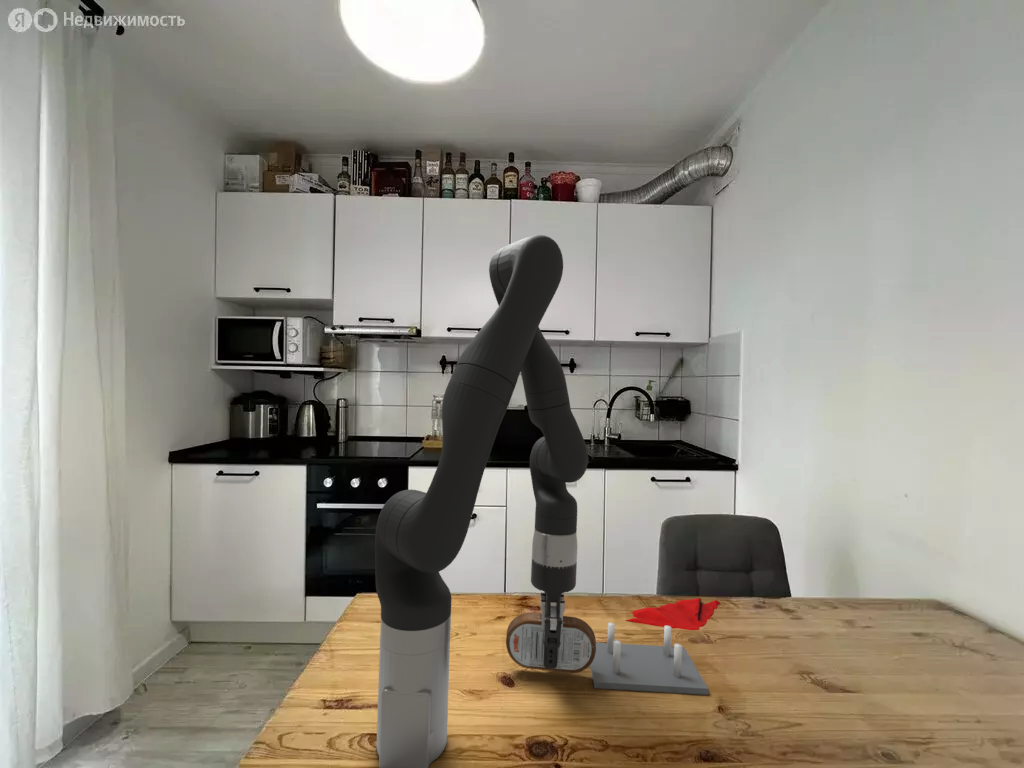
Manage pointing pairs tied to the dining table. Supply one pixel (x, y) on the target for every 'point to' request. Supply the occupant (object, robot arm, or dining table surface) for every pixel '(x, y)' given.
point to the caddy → (645, 667)
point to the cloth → (677, 614)
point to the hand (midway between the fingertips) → (549, 660)
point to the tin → (529, 646)
